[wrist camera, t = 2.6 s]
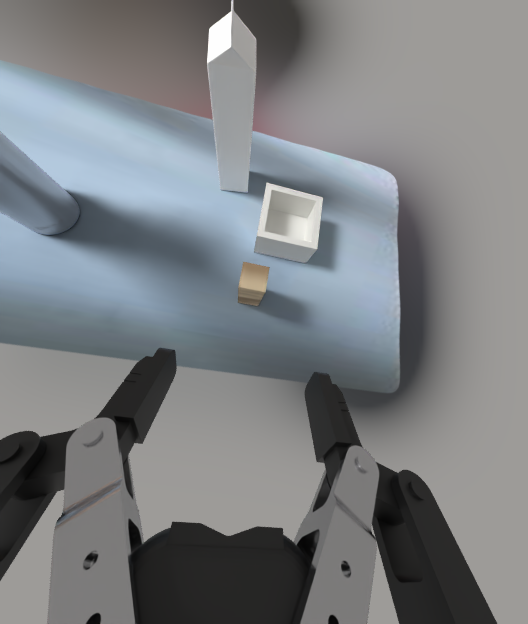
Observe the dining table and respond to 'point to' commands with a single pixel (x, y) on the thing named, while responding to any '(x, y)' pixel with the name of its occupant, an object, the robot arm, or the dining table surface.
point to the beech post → (252, 283)
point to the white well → (289, 224)
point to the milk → (232, 98)
